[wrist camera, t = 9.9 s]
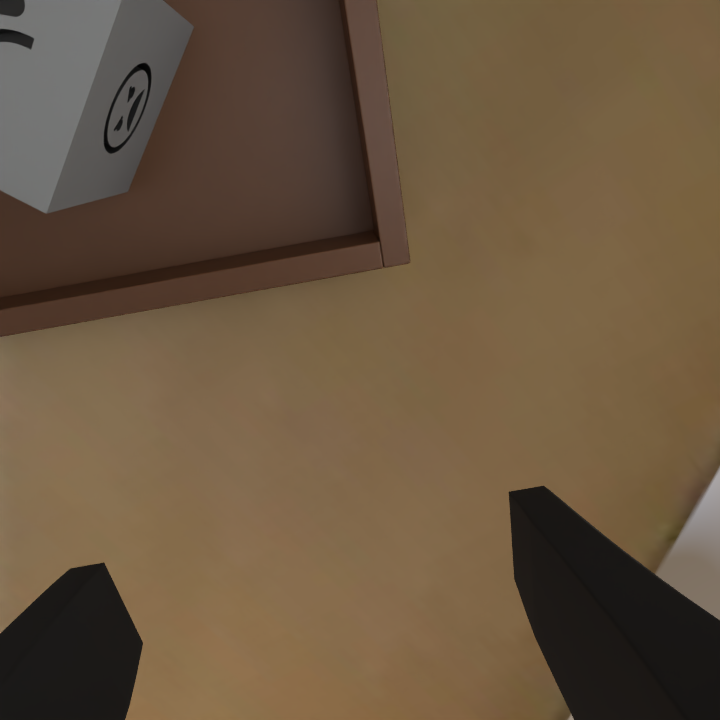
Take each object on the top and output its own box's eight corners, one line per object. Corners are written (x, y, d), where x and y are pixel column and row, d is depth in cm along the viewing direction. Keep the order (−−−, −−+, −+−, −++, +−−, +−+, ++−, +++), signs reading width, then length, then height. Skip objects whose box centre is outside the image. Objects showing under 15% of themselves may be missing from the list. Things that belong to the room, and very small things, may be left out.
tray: (-81, 333, 18) (-142, 363, 15) (-371, -198, 12) (-533, -276, 10) (399, 247, 17) (410, 263, 15) (321, -332, 12) (319, -441, 10)
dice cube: (194, 26, 14) (131, -27, 10) (127, 191, 16) (46, 213, 11) (6, -94, 13) (-168, -220, 8) (-46, 98, 15) (-217, 80, 10)
